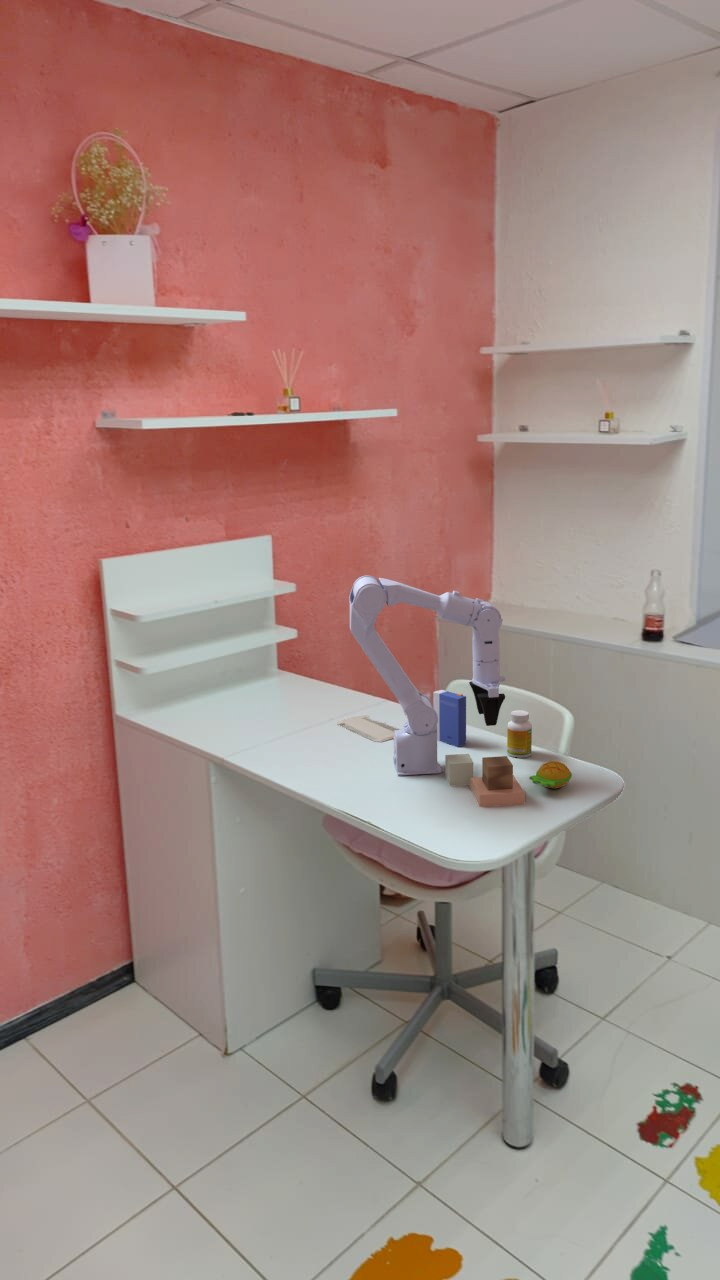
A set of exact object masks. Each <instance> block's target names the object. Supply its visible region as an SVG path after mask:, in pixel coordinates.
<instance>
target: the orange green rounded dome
mask: <svg viewBox="0 0 720 1280" xmlns="http://www.w3.org/2000/svg"><path fill="white" fill-rule="evenodd" d="M572 776H573V774H572V772H571V770H570V768H569V767H568V765H566V764H565V763H563V762H561V761H559V760H551V761H546V762H545V763H543V764H542V765H540V767H538V769H537V770H536V773H535V775H530V776H529V780H531V782H532V783H533V784H540V786H541V787H546V788H549V789H560V788H562V787H564V786H566V784H568V783H569V782H570V780H571V779H572Z"/></svg>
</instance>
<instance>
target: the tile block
mask: <svg viewBox="0 0 720 1280" xmlns="http://www.w3.org/2000/svg"><path fill="white" fill-rule="evenodd" d="M469 788H470V791H471V793H472V795H473V797H474V799H475V800H476V802H477V804H478V806H479V808H485V807H500V806H502V807H503V806H516V805H517V806H518V805H525V804H526V803H525V800H526V799H525V798H526V797H525V796H526V792H525V791H524V789H523V788H522V786H521V784H520V783H519V781H518V780H517V778H516V776H515V775H514V774H513V789H502V790H487V788H486V786H485V785H484V783H483V781H482V776H476V777H474V776H473V777H472V778H470V785H469Z"/></svg>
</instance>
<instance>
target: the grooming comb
mask: <svg viewBox="0 0 720 1280" xmlns="http://www.w3.org/2000/svg"><path fill="white" fill-rule="evenodd" d="M336 723H337V726H339V725H340V726H339V727H341V726H342V728H343V727H344V729H345V728H346V729H345V730H348V731H350V732H353V733H355V734H356V733H357V734H356V735H359V736H361V737H363V738H366V739H368V740H369V741H372V742H374V743H385V742H387V741H391V740H394V731H395V730H401V729H402V728H397V727H396V726H393V725H389V723H386V722H382V721H380V720H375V719H373V718H371V717H370V715H367V714H366V715H361V716H360V715H359V716H353V717H350V718H345V719H341V720H337V721H336Z"/></svg>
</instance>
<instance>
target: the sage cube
mask: <svg viewBox="0 0 720 1280" xmlns="http://www.w3.org/2000/svg"><path fill="white" fill-rule="evenodd" d="M444 757H445V758H444V759H445V761H444V762H445V765H444V769H445V772H444V773H445V778H446V781H447V784H448V785H449V787H452V786H453V787H457V786H470V778H472V777H474V761H473V758H472V757H471V755H470V753H459V754H445V756H444Z"/></svg>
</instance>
